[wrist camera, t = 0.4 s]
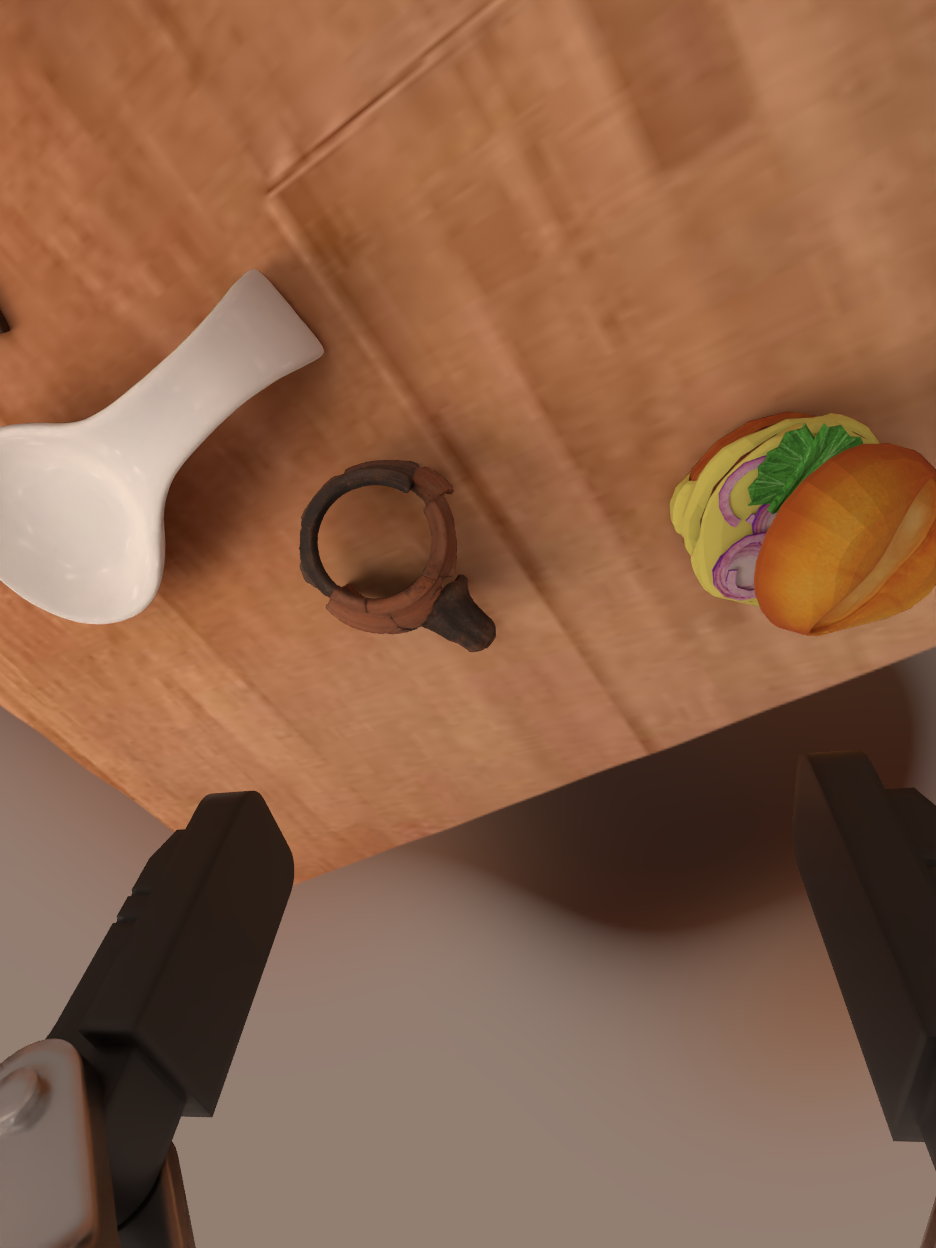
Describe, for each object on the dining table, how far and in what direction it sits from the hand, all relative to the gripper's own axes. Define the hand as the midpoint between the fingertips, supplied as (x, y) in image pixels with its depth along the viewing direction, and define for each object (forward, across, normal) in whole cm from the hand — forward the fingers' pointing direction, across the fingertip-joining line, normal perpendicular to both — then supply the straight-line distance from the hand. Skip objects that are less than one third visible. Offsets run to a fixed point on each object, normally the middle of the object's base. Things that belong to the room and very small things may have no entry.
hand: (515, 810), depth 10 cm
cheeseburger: (+28, -11, +9) cm, 31 cm away
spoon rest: (+28, +22, +1) cm, 35 cm away
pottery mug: (+28, +8, +9) cm, 30 cm away
